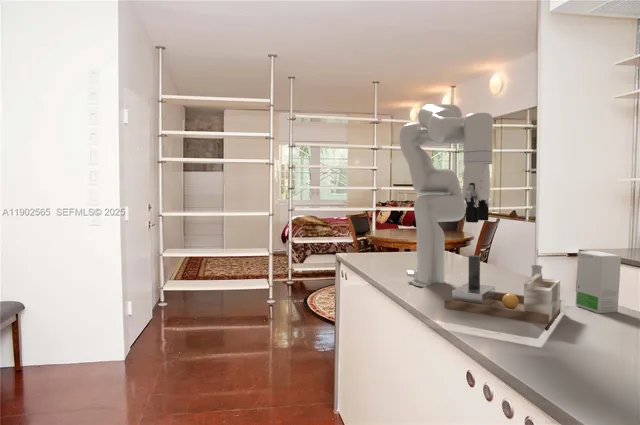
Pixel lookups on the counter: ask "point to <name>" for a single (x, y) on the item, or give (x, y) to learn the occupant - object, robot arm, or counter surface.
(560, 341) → the counter surface
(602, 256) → the skincare box
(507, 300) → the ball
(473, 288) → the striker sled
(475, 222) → the robot arm
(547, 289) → the wooden tray
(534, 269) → the flask
